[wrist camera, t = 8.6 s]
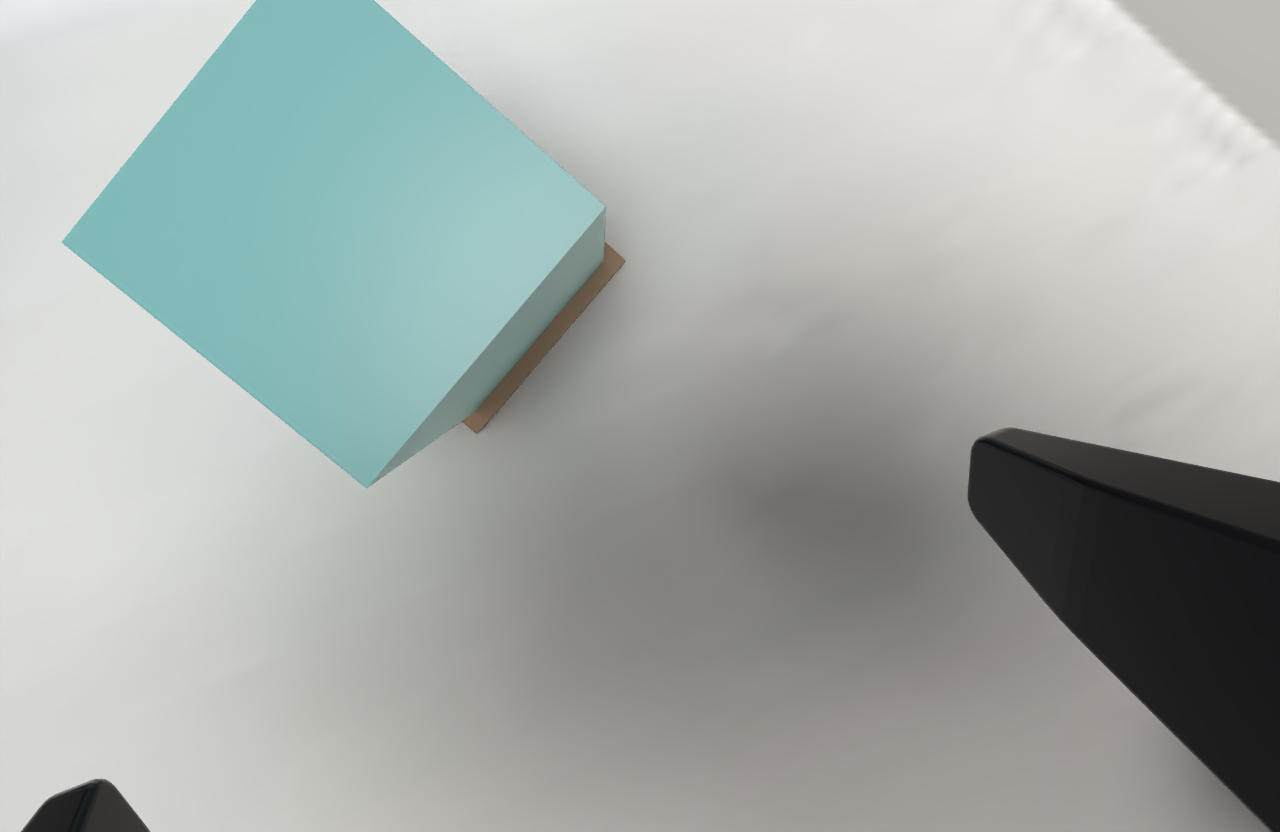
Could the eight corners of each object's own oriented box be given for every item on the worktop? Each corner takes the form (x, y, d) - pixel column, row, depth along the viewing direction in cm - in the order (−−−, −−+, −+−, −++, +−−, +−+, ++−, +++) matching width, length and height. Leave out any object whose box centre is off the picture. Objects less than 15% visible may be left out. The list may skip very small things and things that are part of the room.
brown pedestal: (624, 262, 22) (631, 245, 17) (480, 431, 22) (448, 458, 18) (449, 107, 21) (408, 48, 17) (303, 283, 22) (223, 273, 17)
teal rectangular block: (603, 260, 21) (605, 206, 11) (474, 411, 22) (366, 487, 12) (447, 123, 21) (305, -61, 11) (317, 280, 21) (61, 242, 11)
